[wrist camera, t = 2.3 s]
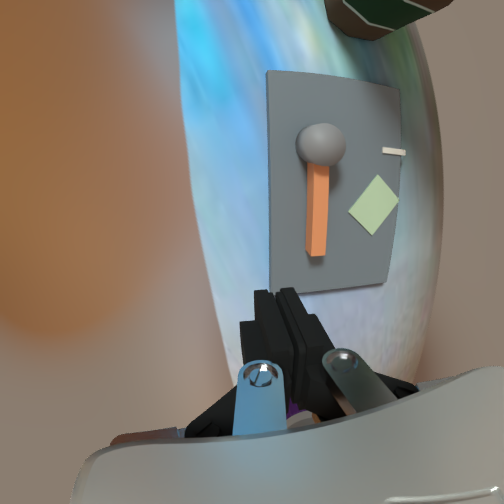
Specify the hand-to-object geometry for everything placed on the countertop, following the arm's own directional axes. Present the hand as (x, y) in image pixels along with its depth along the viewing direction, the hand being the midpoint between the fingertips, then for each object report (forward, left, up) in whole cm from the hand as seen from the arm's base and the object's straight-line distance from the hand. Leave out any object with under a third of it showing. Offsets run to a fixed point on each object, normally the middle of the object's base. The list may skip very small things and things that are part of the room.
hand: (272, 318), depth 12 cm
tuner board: (-3, +10, -16) cm, 19 cm away
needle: (-3, +7, -14) cm, 16 cm away
